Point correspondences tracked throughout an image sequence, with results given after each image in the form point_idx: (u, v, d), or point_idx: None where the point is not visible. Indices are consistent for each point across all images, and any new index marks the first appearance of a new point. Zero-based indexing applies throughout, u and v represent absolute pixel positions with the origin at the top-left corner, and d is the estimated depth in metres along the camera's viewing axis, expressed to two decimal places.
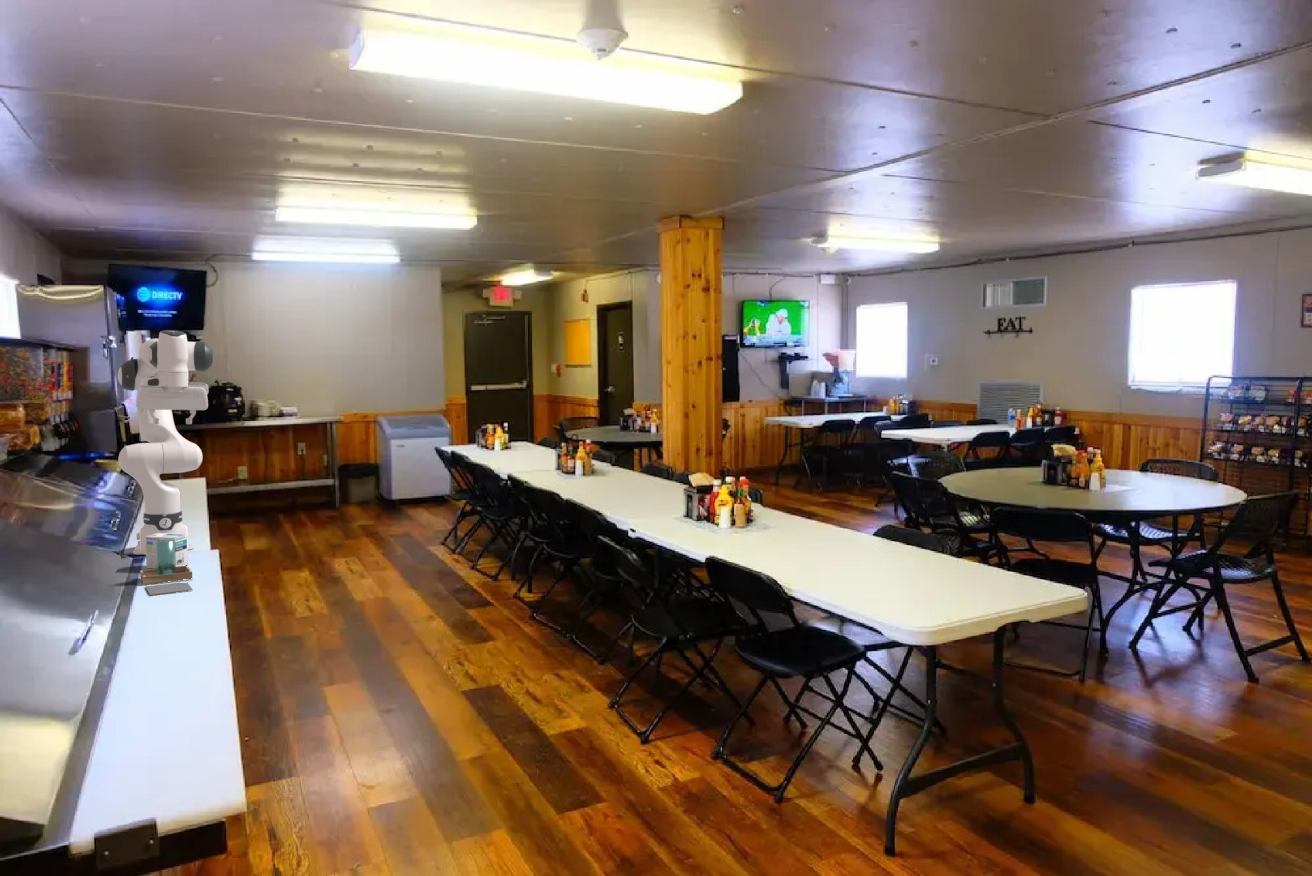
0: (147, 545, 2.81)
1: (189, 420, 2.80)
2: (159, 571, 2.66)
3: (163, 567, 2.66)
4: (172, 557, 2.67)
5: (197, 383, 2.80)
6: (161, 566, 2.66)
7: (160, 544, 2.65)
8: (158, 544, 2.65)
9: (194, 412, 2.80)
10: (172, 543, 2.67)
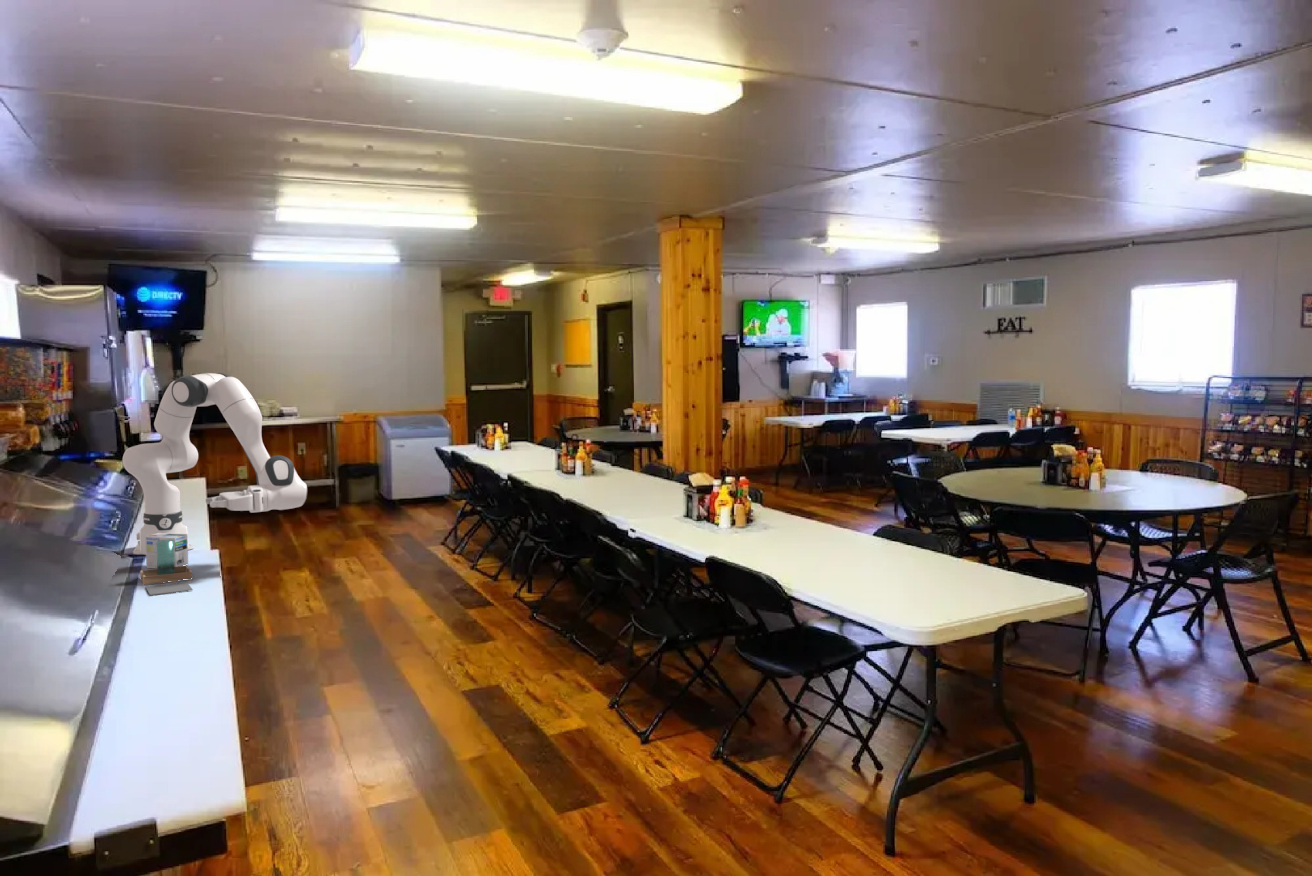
0: (147, 545, 2.81)
1: (210, 503, 2.78)
2: (159, 571, 2.66)
3: (163, 567, 2.66)
4: (172, 557, 2.67)
5: None
6: (161, 566, 2.66)
7: (160, 544, 2.65)
8: (158, 544, 2.65)
9: None
10: (172, 543, 2.67)
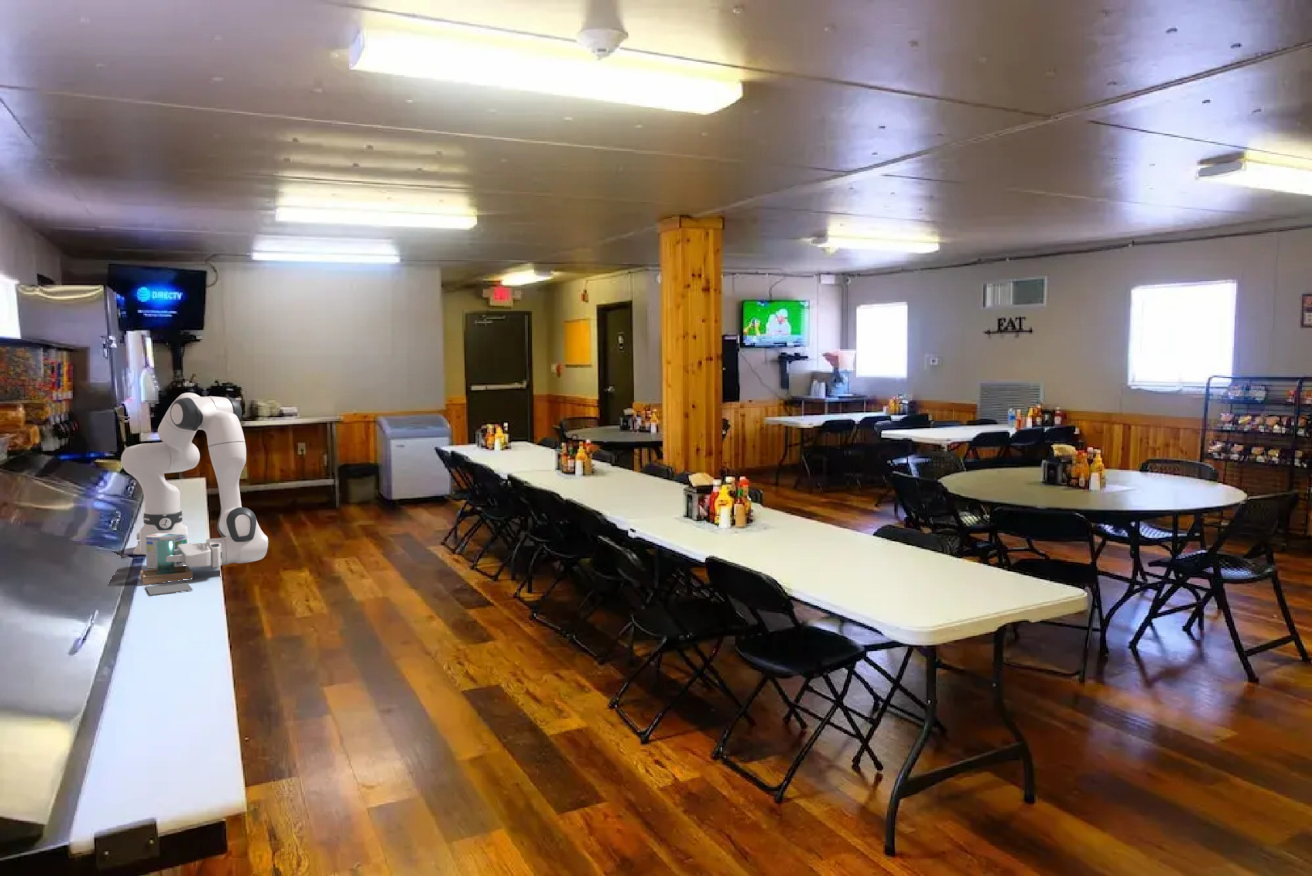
0: (147, 545, 2.81)
1: None
2: (159, 571, 2.66)
3: (163, 567, 2.66)
4: None
5: None
6: (161, 566, 2.66)
7: (160, 543, 2.65)
8: (158, 544, 2.65)
9: None
10: (172, 543, 2.67)
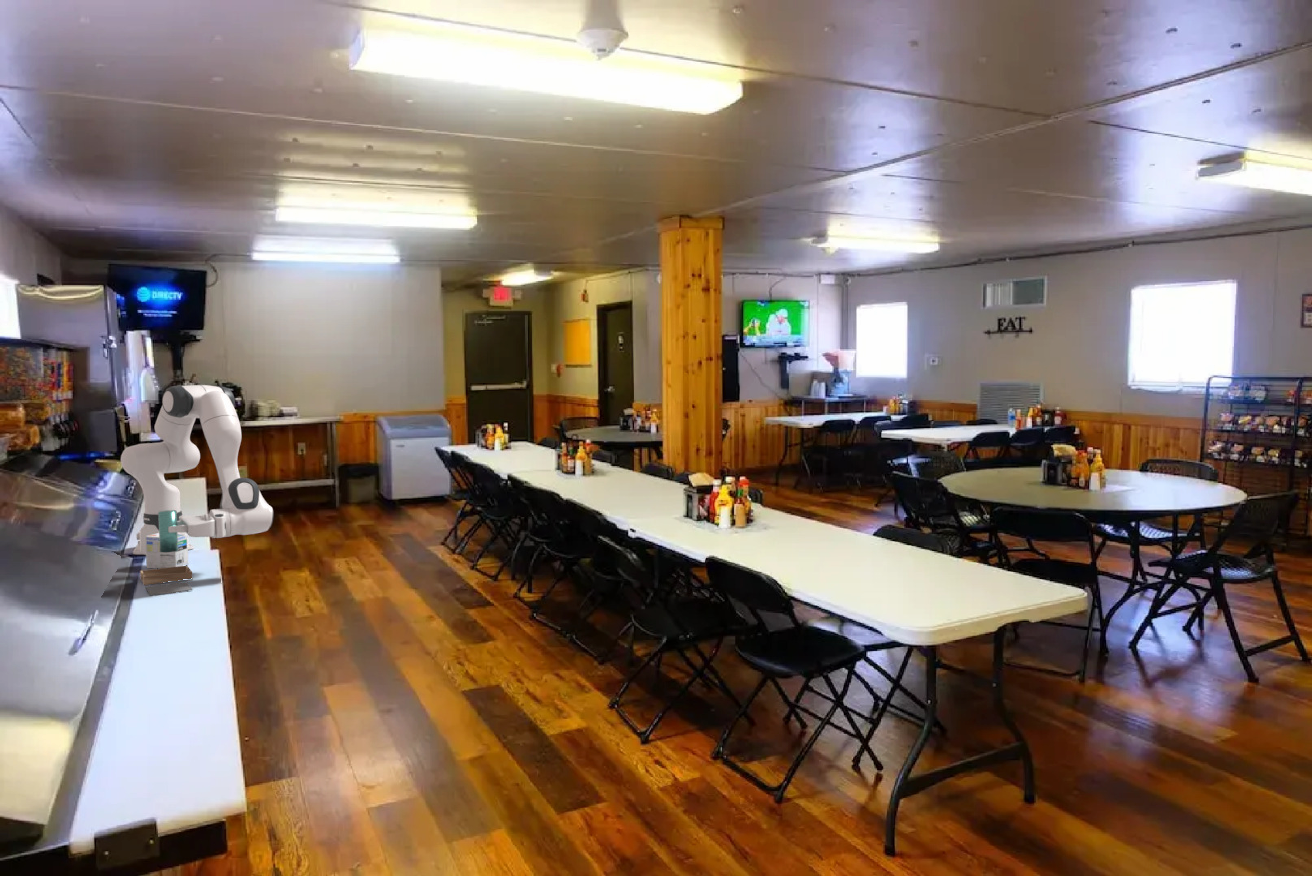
0: (147, 545, 2.81)
1: None
2: (161, 542, 2.57)
3: (165, 538, 2.57)
4: None
5: None
6: (163, 537, 2.57)
7: (162, 514, 2.57)
8: (160, 514, 2.57)
9: None
10: (174, 513, 2.59)
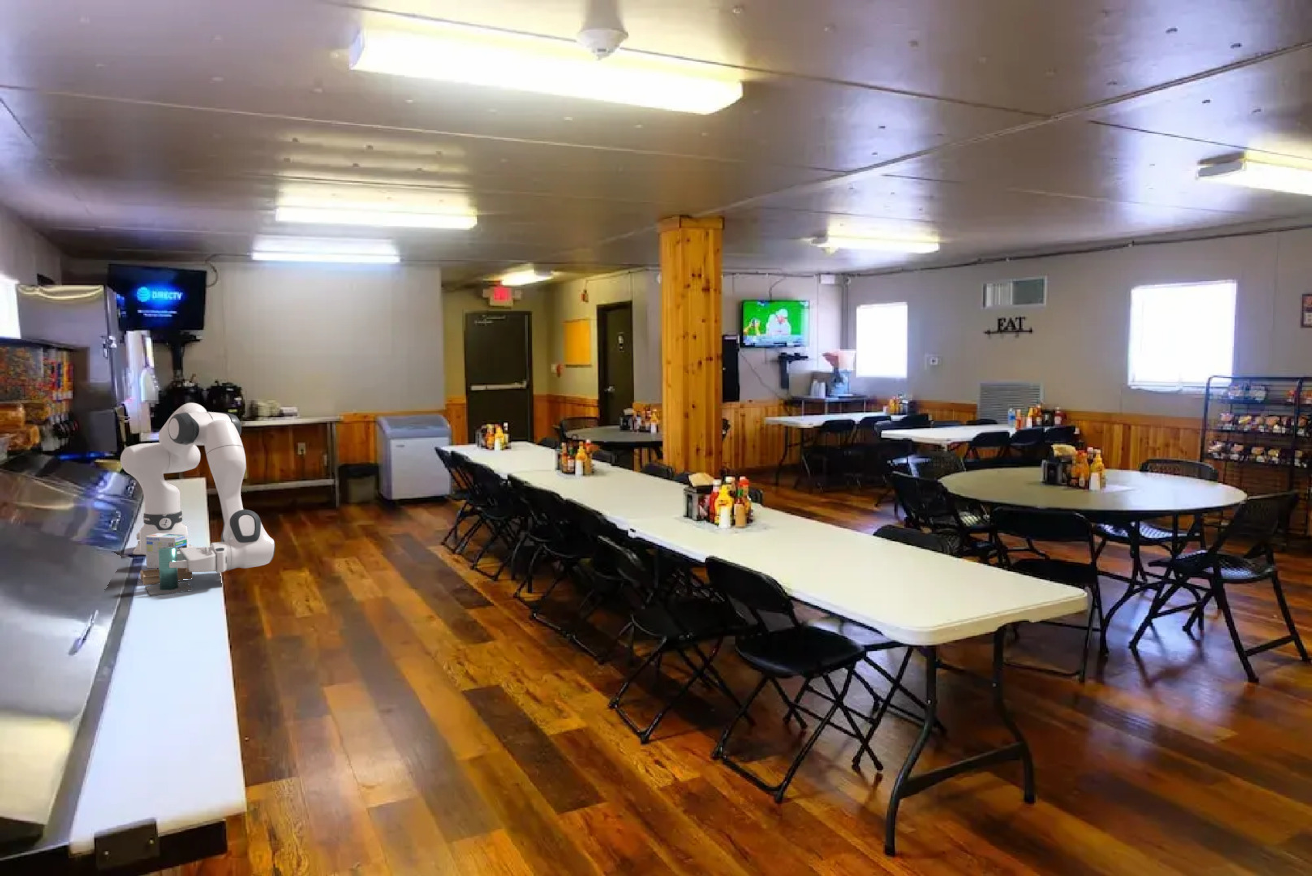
0: (147, 545, 2.81)
1: None
2: (161, 580, 2.54)
3: (165, 576, 2.54)
4: None
5: None
6: (163, 575, 2.54)
7: (162, 551, 2.53)
8: (160, 551, 2.53)
9: None
10: (175, 550, 2.55)
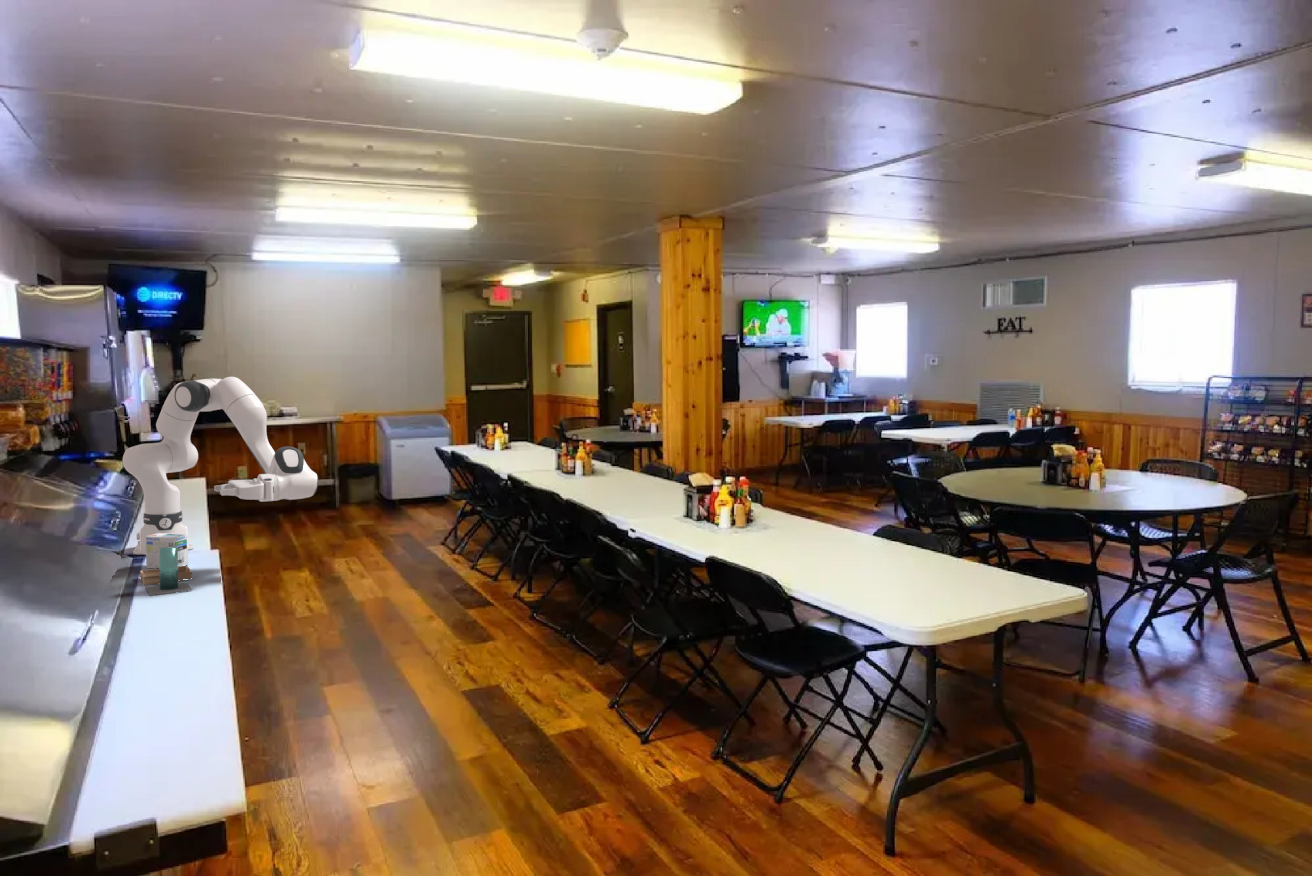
0: (147, 545, 2.81)
1: None
2: (162, 579, 2.54)
3: (165, 575, 2.54)
4: (175, 564, 2.56)
5: None
6: (164, 574, 2.54)
7: (163, 550, 2.53)
8: (161, 551, 2.54)
9: None
10: (175, 550, 2.56)
